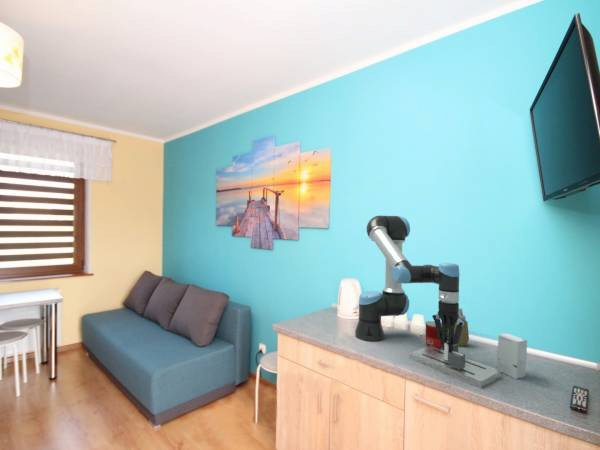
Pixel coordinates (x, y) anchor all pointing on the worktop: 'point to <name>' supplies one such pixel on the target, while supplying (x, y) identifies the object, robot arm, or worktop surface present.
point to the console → (471, 373)
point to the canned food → (432, 335)
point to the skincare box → (511, 355)
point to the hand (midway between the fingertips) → (447, 359)
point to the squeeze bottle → (464, 333)
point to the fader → (457, 360)
